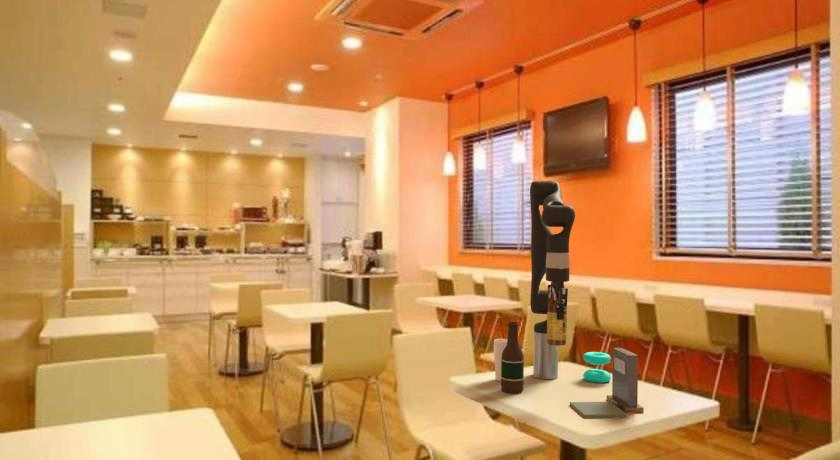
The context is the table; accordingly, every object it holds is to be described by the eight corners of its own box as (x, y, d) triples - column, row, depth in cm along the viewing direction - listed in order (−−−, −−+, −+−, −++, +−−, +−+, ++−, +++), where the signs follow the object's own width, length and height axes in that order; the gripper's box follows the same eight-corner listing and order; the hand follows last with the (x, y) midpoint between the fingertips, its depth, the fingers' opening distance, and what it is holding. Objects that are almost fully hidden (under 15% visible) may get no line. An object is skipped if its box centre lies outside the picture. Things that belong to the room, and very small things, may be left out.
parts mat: (569, 405, 189) (569, 402, 189) (608, 404, 190) (608, 401, 190) (584, 417, 176) (584, 414, 176) (626, 417, 177) (626, 414, 177)
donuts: (609, 352, 226) (612, 357, 216) (609, 378, 226) (611, 384, 216) (582, 350, 228) (584, 355, 219) (582, 376, 228) (583, 382, 219)
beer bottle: (509, 386, 211) (510, 319, 211) (528, 391, 205) (528, 322, 205) (496, 390, 205) (497, 322, 205) (514, 395, 200) (515, 324, 200)
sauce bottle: (566, 346, 188) (567, 284, 187) (546, 345, 189) (547, 283, 189) (566, 343, 194) (567, 282, 194) (546, 342, 195) (547, 282, 195)
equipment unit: (606, 399, 196) (607, 347, 196) (623, 399, 196) (624, 347, 196) (624, 412, 182) (625, 356, 182) (643, 412, 182) (644, 356, 182)
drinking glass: (512, 382, 217) (513, 342, 217) (494, 382, 217) (494, 341, 217) (510, 378, 224) (510, 338, 224) (492, 377, 224) (492, 338, 224)
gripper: (540, 265, 198) (539, 315, 198) (553, 267, 184) (552, 321, 184) (561, 265, 199) (561, 315, 199) (576, 268, 185) (575, 321, 185)
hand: (556, 317), depth 191 cm, fingers closed on sauce bottle, 6 cm apart
